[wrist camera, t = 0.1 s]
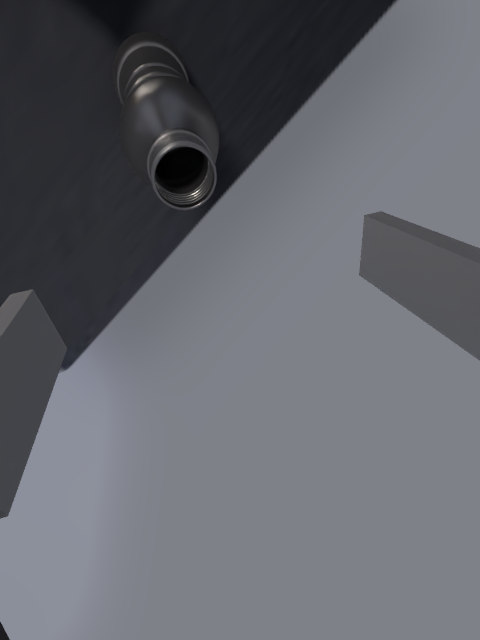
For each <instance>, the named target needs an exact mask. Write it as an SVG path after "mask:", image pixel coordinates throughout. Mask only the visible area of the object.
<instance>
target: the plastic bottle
mask: <svg viewBox="0 0 480 640" xmlns="http://www.w3.org/2000/svg"><path fill="white" fill-rule="evenodd" d="M113 81H114V87H115V90H116V93H117V96H118V98H119V100H120V102H121V104H122V106H123V108H122V112H121V117H120V132H119V136H120V142H121V147H122V150H123V153H124V156H125V158H126V160H127V162H128V163H129V165H130V167H131V168H132V169H133V170H134V172H135V173H136V174H137V175H138V176H139V177H140V178H141V179H142V180H143V181H144V182H145V183H146V184H148V185H149V186H151V187H153V188H154V191H155V192H156V194H157V196H158V197H159V198H160V199H161V201H162V202H164V203H165V204H166V205H168V206H169V207H171V208H174V209H177V210H191V209H195V208H197V207H199V206H201V205H202V204H204V203H205V202H206V201H207V200H208V199H209V198H210V197H211V195H212V194H213V191H214V189H215V186H216V182H217V172H216V166H215V162H216V160H217V155H218V149H219V129H218V123H217V120H216V117H215V114H214V112H213V110H212V108H211V106H210V104H209V103H208V101H207V100H206V99H205V98H204V96H203V95H202V94H201V93H200V92H199V91H198V90H197V89H196V88H195V87H194V86H193V85H191V84H190V83H189V78H188V72H187V69H186V66H185V63H184V61H183V59H182V57H181V55H180V53H179V52H178V51H177V49H176V48H175V47H174V46H173V45H172V44H171V43H170V42H169V41H168V40H167V39H165V38H163V37H162V36H160V35H158V34H155V33H151V32H141V33H136V34H134V35H132V36H130V37H128V38H127V39H126V40H125V41H124V42H123V43H122V44H121V46H120V47H119V49H118V50H117V53H116V56H115V58H114V64H113Z"/></svg>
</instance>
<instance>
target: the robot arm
mask: <svg viewBox="0 0 480 640" xmlns="http://www.w3.org/2000/svg"><path fill="white" fill-rule="evenodd" d="M359 275H360V276H361V277H363V278H364V279H366V280H367V281H368V282H370V283H371V284H373V285H374V286H375V287H377V288H378V289H380V290H381V291H382V292H384V293H385V294H387V295H388V296H390V297H391V298H392V299H394V300H395V301H397V302H398V303H399V304H401V305H402V306H404V307H405V308H407V309H408V310H409V311H411V312H412V313H413V314H415V315H416V316H418V317H419V318H421V319H422V320H423V321H425V322H426V323H428V324H429V325H430V326H432V327H433V328H435V329H436V330H437V331H439V332H440V333H442V334H443V335H445V336H446V337H447V338H449V339H450V340H451V341H453V342H455V343H456V344H457V345H459V346H460V347H461V348H463V349H464V350H466V351H467V352H468V353H470V354H471V355H473V356H474V357H476V358H477V359H478V360H480V248H477V247H475V246H472V245H469V244H467V243H464V242H461V241H458V240H456V239H453V238H451V237H448V236H445V235H443V234H440V233H437V232H435V231H432V230H429V229H426V228H424V227H421V226H418V225H416V224H413V223H410V222H408V221H405V220H403V219H400V218H397V217H394V216H391V215H389V214H386V213H384V212H377V213H373V214H368V215H364V227H363V238H362V250H361V262H360V273H359ZM66 350H67V347H66V346H65V344H64V342H63V340H62V339H61V337H60V335H59V333H58V332H57V330H56V328H55V326H54V325H53V323H52V321H51V320H50V318H49V316H48V314H47V313H46V311H45V309H44V307H43V306H42V304H41V302H40V300H39V299H38V297H37V295H36V293H35V292H34V290H28V291H24V292H19V293H15V294H11V295H10V296H9V297H8V298H7V300H6V301H5V302H4V303H3V305H2V306H1V307H0V518H3V517H6V516H8V514H9V512H10V509H11V506H12V503H13V500H14V497H15V495H16V492H17V489H18V486H19V483H20V480H21V477H22V474H23V472H24V469H25V466H26V463H27V461H28V458H29V455H30V452H31V449H32V446H33V444H34V441H35V438H36V435H37V432H38V429H39V427H40V424H41V421H42V418H43V415H44V412H45V410H46V407H47V404H48V401H49V398H50V396H51V393H52V390H53V387H54V384H55V381H56V379H57V376H58V373H59V370H60V367H61V364H62V362H63V359H64V356H65V353H66ZM0 640H9V637H8V636H7V634H6V632H5V630H4V628H3V626H2V624H1V622H0Z"/></svg>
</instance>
